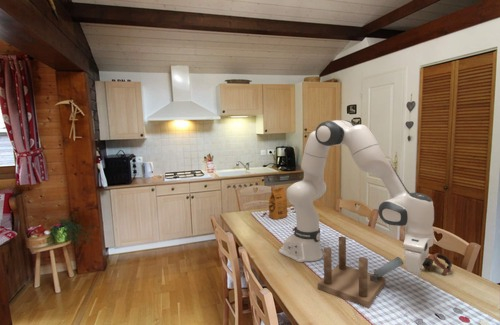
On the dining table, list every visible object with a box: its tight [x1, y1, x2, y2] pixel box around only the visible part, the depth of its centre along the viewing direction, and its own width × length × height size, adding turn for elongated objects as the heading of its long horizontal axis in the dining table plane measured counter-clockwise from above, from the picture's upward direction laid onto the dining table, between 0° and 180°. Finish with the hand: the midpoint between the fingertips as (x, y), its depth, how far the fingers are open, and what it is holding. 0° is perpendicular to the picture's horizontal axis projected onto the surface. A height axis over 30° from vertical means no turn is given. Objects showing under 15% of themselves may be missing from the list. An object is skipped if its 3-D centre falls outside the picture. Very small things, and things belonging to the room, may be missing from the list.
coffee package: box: [268, 186, 288, 221], centre depth 202 cm, size 10×12×22 cm
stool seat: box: [317, 236, 387, 309], centre depth 112 cm, size 20×20×16 cm
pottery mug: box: [422, 252, 453, 276], centre depth 122 cm, size 12×10×8 cm
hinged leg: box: [373, 256, 404, 278], centre depth 110 cm, size 3×3×12 cm
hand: (417, 273), depth 103 cm, fingers closed
